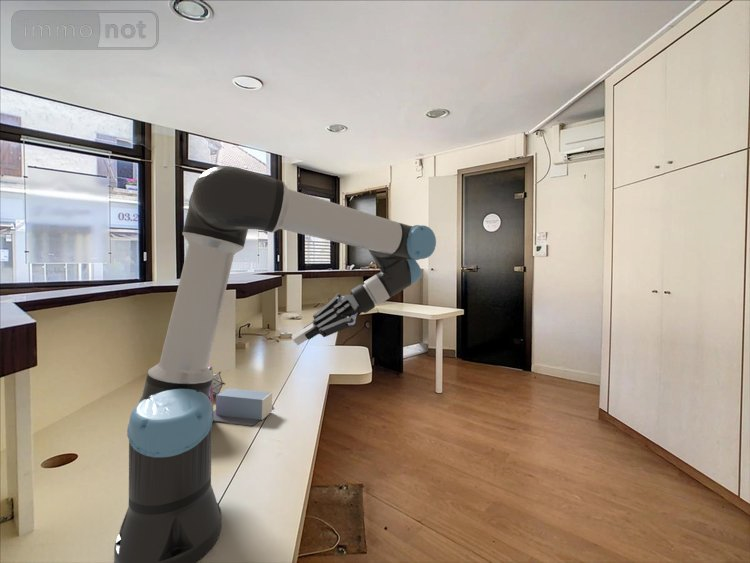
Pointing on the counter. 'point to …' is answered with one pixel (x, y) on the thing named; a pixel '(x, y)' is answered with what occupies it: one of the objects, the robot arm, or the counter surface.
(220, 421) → the mat
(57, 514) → the counter surface
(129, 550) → the robot arm
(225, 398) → the plain blue-gray rectangular block
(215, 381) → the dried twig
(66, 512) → the counter surface
